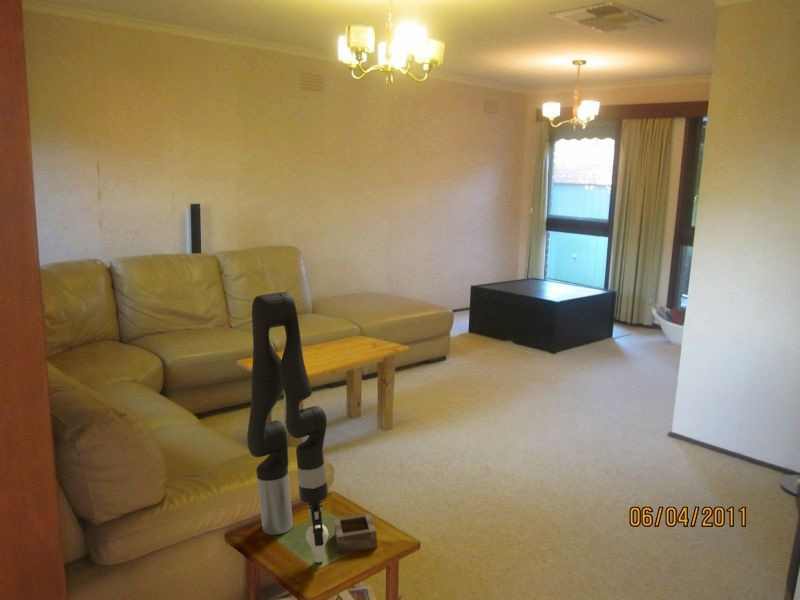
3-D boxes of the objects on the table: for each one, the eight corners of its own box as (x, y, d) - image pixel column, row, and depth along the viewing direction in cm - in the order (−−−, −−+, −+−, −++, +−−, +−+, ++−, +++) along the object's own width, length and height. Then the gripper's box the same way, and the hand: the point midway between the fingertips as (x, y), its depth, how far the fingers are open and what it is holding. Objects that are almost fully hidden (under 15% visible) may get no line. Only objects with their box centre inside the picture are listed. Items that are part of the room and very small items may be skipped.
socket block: (334, 534, 191) (333, 518, 191) (371, 528, 193) (370, 513, 193) (338, 554, 181) (337, 537, 180) (377, 547, 183) (376, 531, 182)
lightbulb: (320, 553, 182) (316, 517, 180) (335, 560, 178) (332, 523, 176) (303, 563, 177) (300, 526, 175) (319, 571, 173) (315, 532, 171)
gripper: (297, 472, 180) (303, 527, 182) (299, 494, 166) (305, 553, 168) (324, 468, 181) (329, 523, 183) (328, 489, 167) (334, 548, 170)
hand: (318, 537), depth 176 cm, fingers open, 8 cm apart
